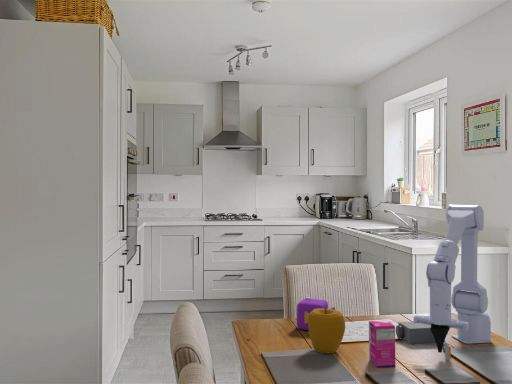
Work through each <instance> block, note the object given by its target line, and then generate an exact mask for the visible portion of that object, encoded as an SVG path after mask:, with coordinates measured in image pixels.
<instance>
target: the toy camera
mask: <svg viewBox="0 0 512 384" xmlns="http://www.w3.org/2000/svg"><path fill="white" fill-rule="evenodd" d="M317 308H323V309H324V308H326V309H329V303H328V301H327V300H325V299H320V298H319V299H315V298H311V297H310V296H306V297H305V298H304V299H302V300H300V301H299V302H298V303H297V305H296V327H297V328H298V330H299V329H300V330H303V331H304V330H305V331H309V327H308V316H309V314H310V312H312V311H313V310H314V309H317ZM330 309H333V310H336V307H334V306H333V307H330Z"/></svg>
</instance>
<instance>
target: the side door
mask: <svg viewBox="0 0 512 384" xmlns="http://www.w3.org/2000/svg"><path fill="white" fill-rule="evenodd" d="M451 349H452V345H451V344H449V332H448V333H447V336H446V338H445V341H444V358H445V361H449V360H450V359H451V357H452V351H451Z"/></svg>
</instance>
